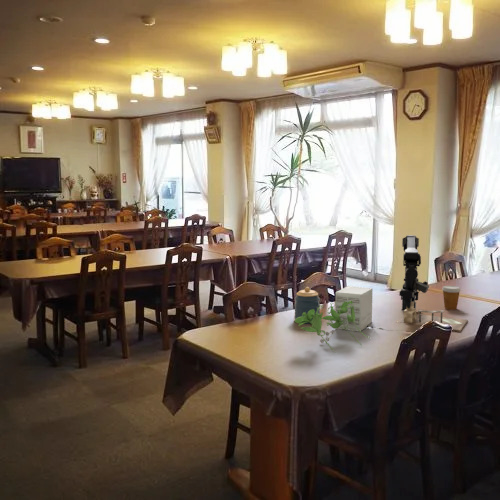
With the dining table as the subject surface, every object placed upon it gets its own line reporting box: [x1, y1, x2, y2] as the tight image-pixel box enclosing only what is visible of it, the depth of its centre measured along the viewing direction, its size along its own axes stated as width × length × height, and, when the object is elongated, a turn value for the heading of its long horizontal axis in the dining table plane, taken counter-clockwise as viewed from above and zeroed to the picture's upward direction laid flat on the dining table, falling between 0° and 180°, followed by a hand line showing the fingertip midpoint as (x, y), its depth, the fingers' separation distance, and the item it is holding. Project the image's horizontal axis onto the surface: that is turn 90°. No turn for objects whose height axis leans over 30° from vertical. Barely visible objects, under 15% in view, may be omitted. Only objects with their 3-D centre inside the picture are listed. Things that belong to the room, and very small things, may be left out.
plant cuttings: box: [294, 301, 371, 352], centre depth 231 cm, size 35×17×22 cm
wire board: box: [396, 309, 469, 333], centre depth 268 cm, size 30×22×7 cm
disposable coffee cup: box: [441, 285, 461, 311], centre depth 298 cm, size 10×10×12 cm
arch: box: [403, 301, 417, 323], centre depth 269 cm, size 4×8×10 cm, turn 149°
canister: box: [293, 286, 321, 325], centre depth 273 cm, size 13×13×18 cm
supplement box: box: [334, 285, 373, 333], centre depth 263 cm, size 17×13×18 cm
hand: (410, 307), depth 269 cm, fingers open, 5 cm apart
